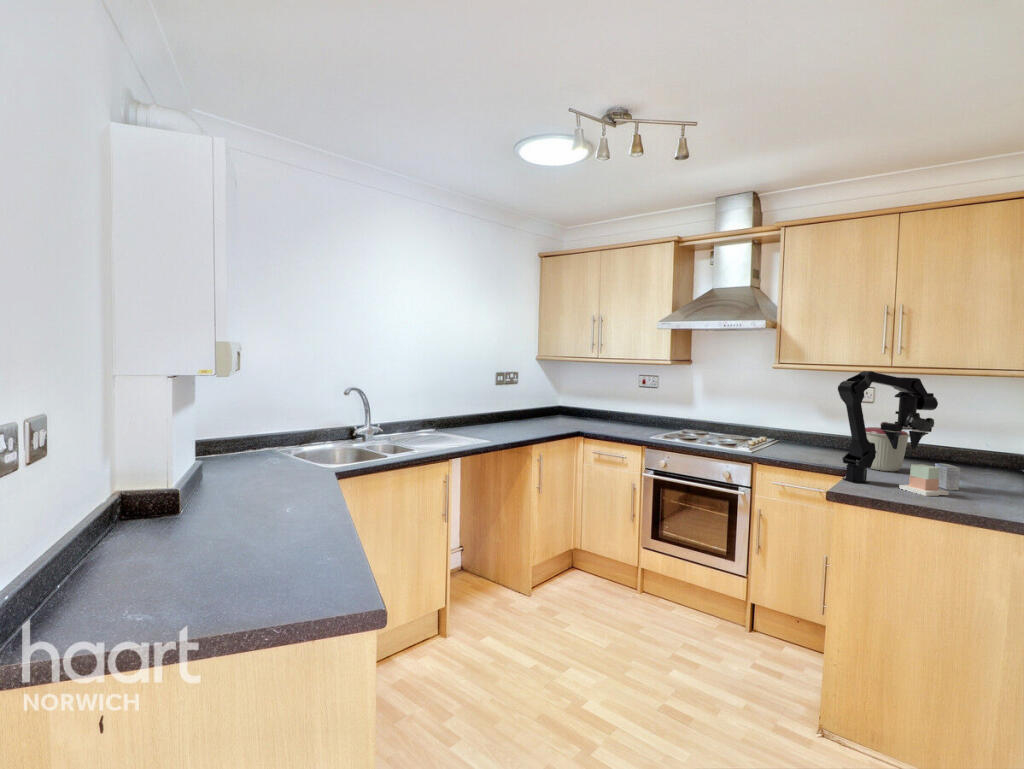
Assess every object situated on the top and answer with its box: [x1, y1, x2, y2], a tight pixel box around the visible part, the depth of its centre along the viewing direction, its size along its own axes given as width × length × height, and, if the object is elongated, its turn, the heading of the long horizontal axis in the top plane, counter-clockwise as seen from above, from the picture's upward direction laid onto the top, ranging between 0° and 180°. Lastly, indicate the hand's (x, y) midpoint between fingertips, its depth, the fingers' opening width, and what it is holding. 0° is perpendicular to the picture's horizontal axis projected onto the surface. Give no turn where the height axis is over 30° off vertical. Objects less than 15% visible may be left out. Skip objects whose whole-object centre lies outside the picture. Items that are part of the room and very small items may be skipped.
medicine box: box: [934, 463, 961, 492], centre depth 199 cm, size 8×4×9 cm, turn 168°
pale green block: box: [909, 463, 940, 479], centre depth 190 cm, size 6×6×4 cm
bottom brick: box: [908, 475, 940, 490], centre depth 190 cm, size 6×6×4 cm
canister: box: [865, 421, 910, 473], centre depth 231 cm, size 18×18×21 cm
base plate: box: [898, 484, 950, 497], centre depth 191 cm, size 10×10×2 cm
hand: (904, 449), depth 206 cm, fingers open, 9 cm apart
